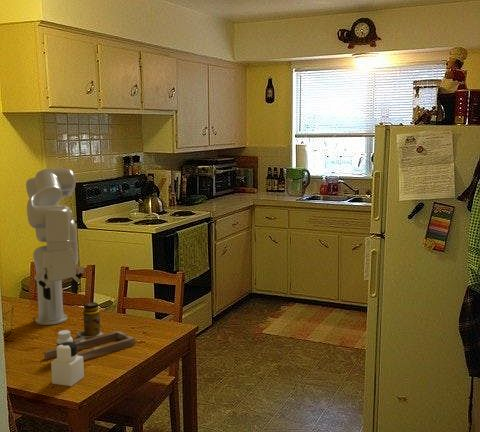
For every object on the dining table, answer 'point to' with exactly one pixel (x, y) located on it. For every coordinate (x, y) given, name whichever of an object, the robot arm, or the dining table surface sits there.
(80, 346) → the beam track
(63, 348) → the white stacked blocks
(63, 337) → the supplement bottle
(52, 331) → the dining table surface
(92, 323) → the condiment
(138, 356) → the dining table surface
